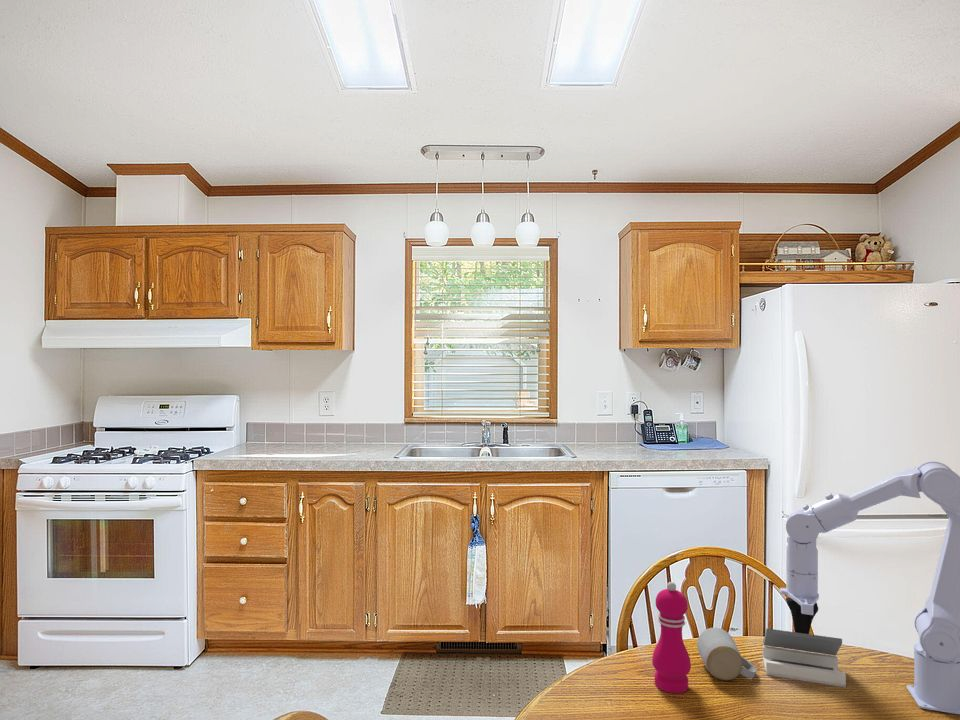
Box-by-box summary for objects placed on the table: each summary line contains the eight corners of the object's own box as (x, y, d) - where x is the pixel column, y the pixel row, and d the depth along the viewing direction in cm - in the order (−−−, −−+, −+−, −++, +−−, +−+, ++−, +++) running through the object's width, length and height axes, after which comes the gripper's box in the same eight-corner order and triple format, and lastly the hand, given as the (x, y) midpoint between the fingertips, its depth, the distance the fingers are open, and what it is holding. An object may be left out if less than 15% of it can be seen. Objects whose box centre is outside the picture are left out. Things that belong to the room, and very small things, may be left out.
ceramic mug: (706, 681, 120) (707, 642, 120) (696, 662, 128) (696, 625, 128) (762, 686, 119) (763, 646, 119) (748, 665, 127) (749, 629, 127)
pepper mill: (693, 697, 114) (693, 590, 115) (653, 692, 116) (653, 587, 116) (688, 678, 121) (688, 577, 122) (650, 674, 123) (651, 574, 123)
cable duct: (836, 668, 126) (836, 656, 126) (845, 687, 118) (845, 674, 118) (762, 657, 130) (762, 645, 130) (766, 674, 123) (766, 662, 123)
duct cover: (835, 655, 126) (835, 651, 126) (842, 642, 120) (841, 638, 121) (763, 645, 130) (763, 641, 131) (766, 632, 125) (766, 628, 125)
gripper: (776, 557, 133) (776, 619, 133) (784, 579, 119) (784, 648, 119) (812, 561, 130) (812, 624, 130) (825, 584, 117) (825, 655, 117)
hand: (801, 636), depth 125 cm, fingers closed, pressing on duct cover
